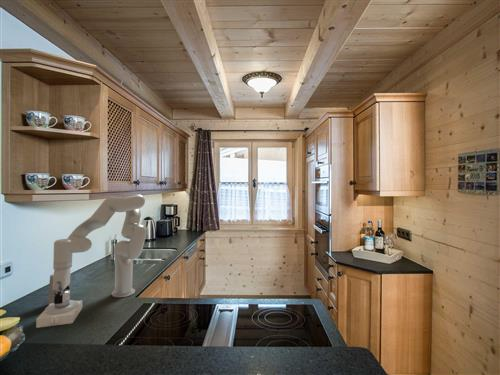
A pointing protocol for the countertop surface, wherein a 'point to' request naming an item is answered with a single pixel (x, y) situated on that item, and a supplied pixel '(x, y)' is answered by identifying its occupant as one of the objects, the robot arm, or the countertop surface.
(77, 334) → the countertop surface
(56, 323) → the scale
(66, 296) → the steel spacer
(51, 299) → the skincare box
